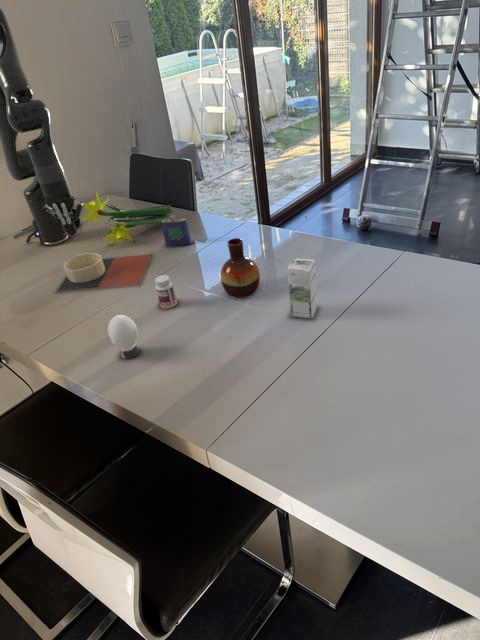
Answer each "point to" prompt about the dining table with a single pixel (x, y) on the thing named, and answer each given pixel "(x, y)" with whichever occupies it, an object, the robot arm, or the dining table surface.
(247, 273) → the vase
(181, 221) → the flask
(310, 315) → the syrup box
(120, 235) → the daffodil flowers
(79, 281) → the bowl
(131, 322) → the light bulb
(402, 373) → the dining table surface
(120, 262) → the placemat
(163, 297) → the pill bottle
